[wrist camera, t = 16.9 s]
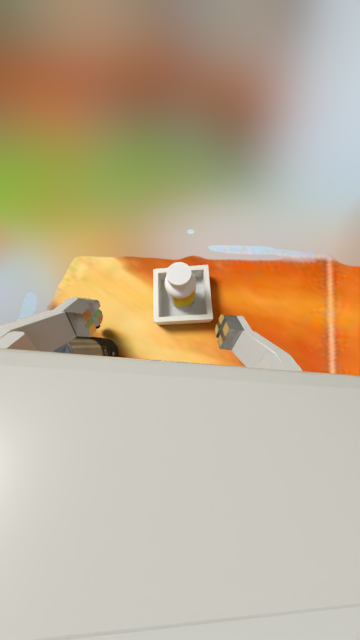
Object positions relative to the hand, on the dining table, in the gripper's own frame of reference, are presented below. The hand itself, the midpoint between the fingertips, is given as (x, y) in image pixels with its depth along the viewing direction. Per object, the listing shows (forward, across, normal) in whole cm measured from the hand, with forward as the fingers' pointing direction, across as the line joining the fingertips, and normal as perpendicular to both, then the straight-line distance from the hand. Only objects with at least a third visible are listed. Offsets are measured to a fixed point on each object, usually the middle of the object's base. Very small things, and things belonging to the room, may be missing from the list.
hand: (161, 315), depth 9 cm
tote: (+26, +4, -13) cm, 29 cm away
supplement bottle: (+26, +4, -12) cm, 29 cm away
